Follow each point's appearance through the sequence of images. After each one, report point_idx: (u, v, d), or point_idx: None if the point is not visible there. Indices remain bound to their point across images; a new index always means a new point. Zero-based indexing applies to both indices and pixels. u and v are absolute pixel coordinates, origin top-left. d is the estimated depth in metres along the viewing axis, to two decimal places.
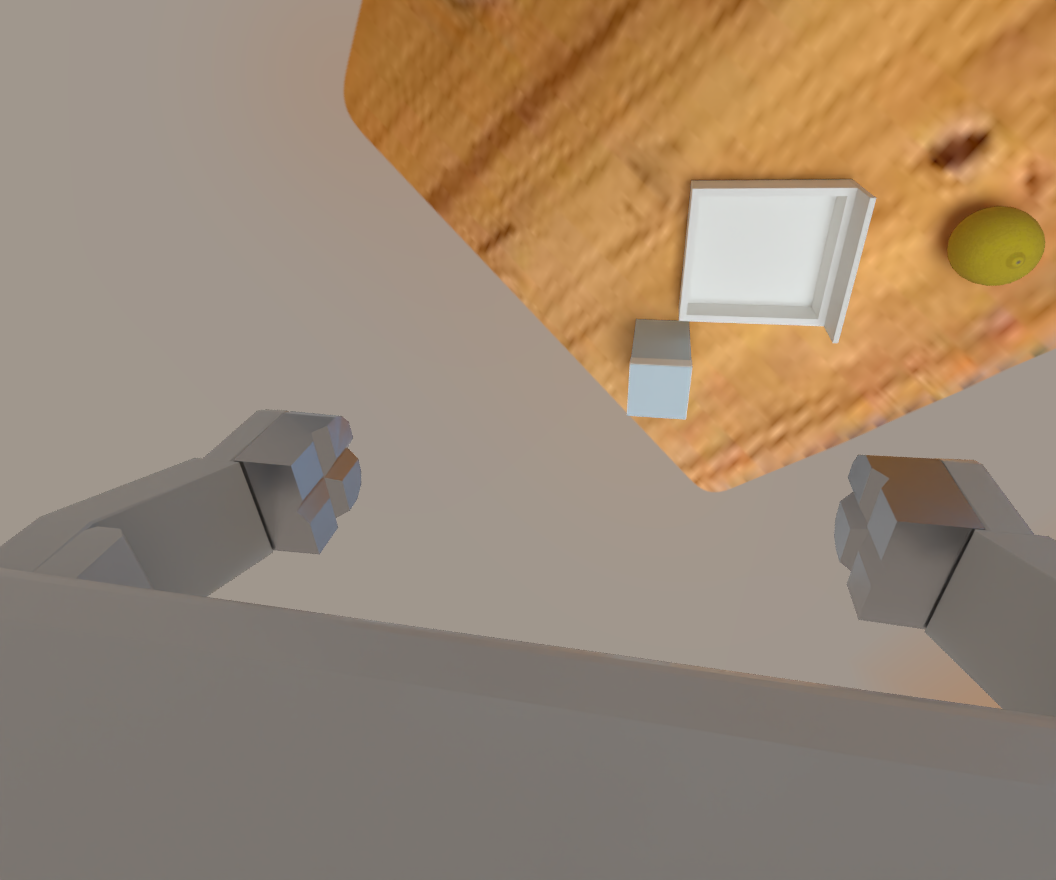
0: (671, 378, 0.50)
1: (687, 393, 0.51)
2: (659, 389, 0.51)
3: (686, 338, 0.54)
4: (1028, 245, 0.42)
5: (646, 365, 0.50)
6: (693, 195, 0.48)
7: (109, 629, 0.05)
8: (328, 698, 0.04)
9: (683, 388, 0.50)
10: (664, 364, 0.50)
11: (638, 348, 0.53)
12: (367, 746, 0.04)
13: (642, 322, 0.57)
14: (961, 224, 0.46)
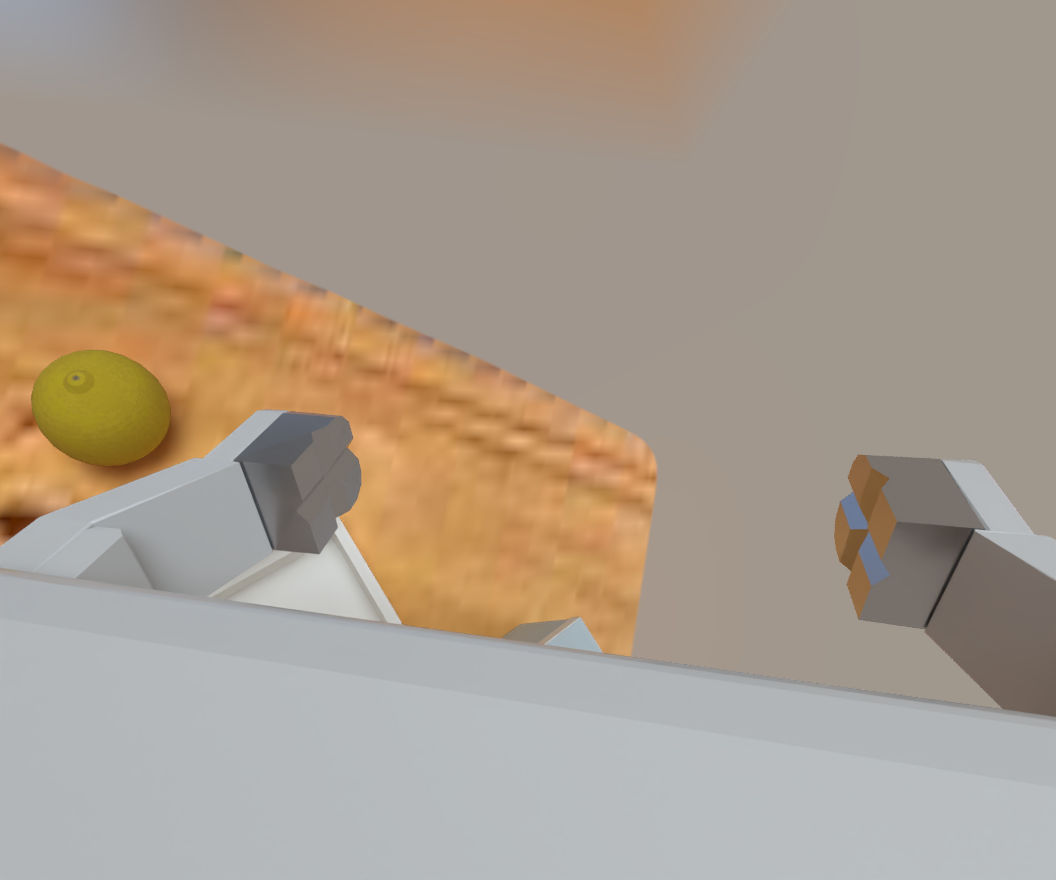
0: None
1: None
2: None
3: None
4: (51, 383, 0.27)
5: None
6: None
7: (108, 630, 0.05)
8: (328, 698, 0.04)
9: None
10: None
11: None
12: (367, 746, 0.04)
13: None
14: (103, 465, 0.30)
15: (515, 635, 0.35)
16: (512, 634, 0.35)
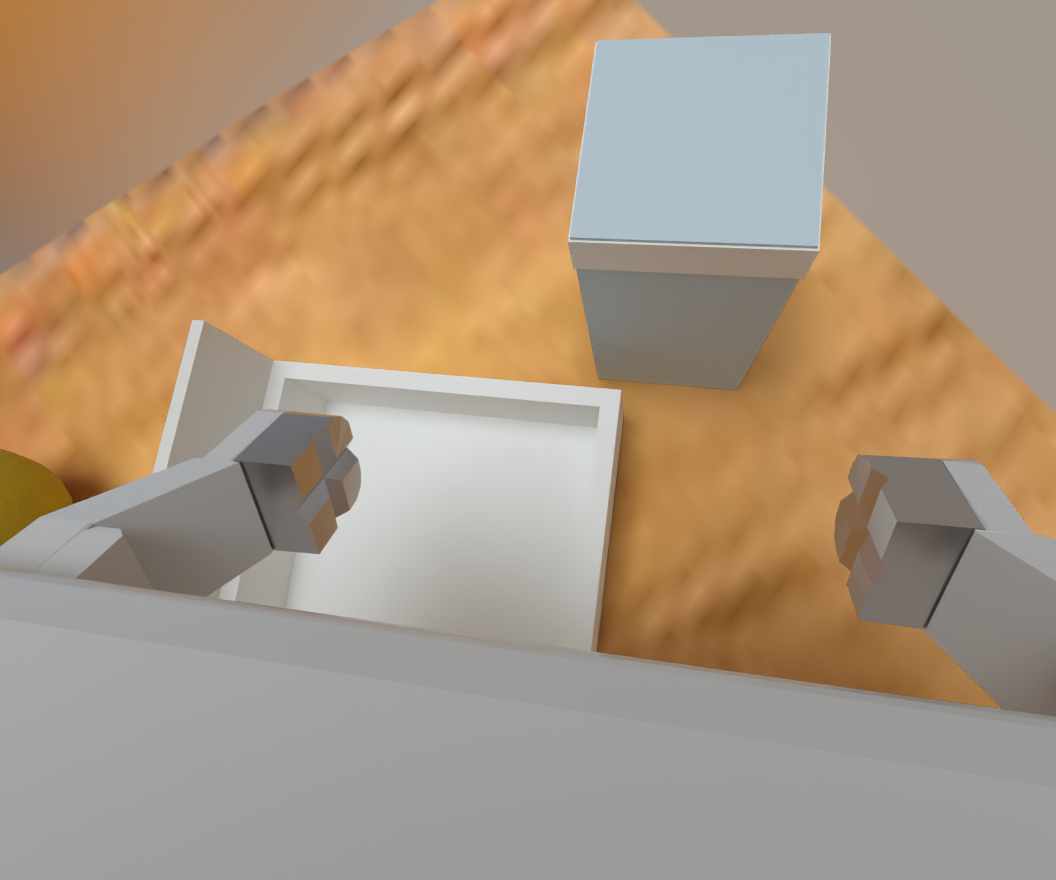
0: (647, 193, 0.13)
1: (587, 138, 0.13)
2: (695, 147, 0.13)
3: (600, 338, 0.18)
4: None
5: (746, 242, 0.12)
6: None
7: (108, 630, 0.05)
8: (328, 698, 0.04)
9: (602, 156, 0.13)
10: (673, 247, 0.13)
11: (760, 310, 0.15)
12: (367, 746, 0.04)
13: (720, 381, 0.21)
14: None
15: None
16: None
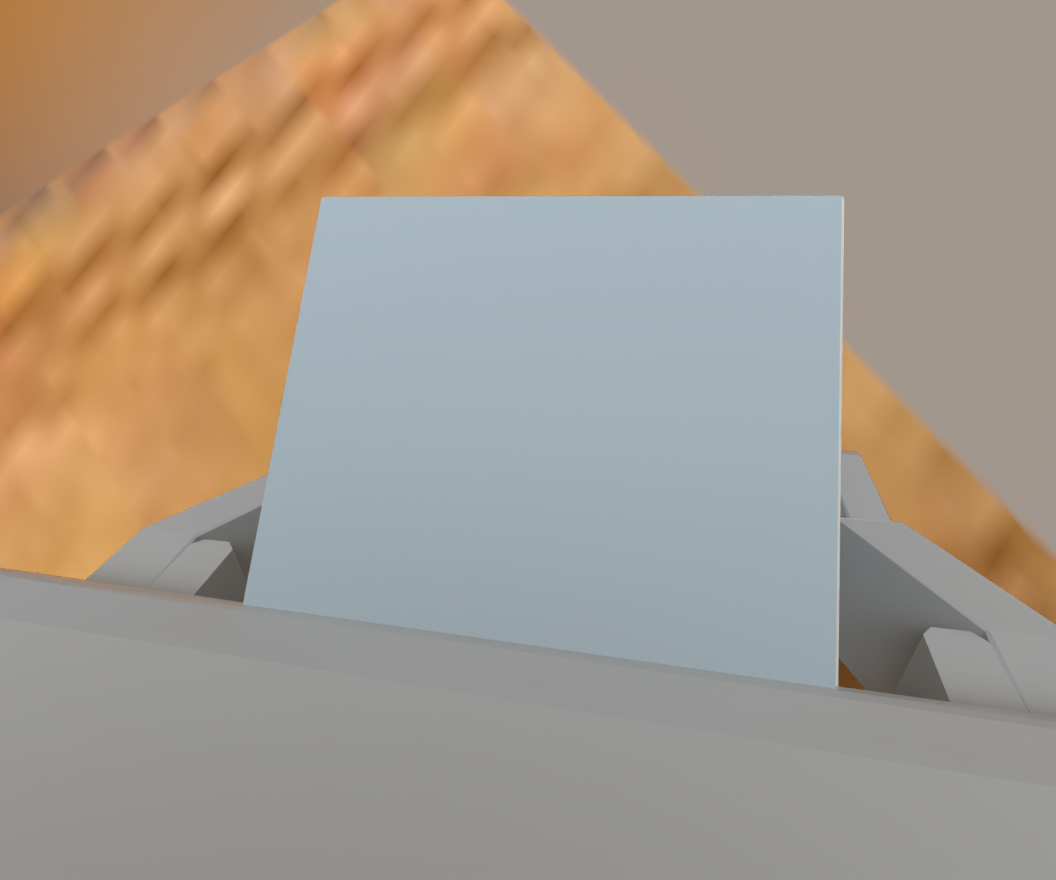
0: (405, 601, 0.05)
1: (284, 438, 0.06)
2: (520, 484, 0.05)
3: None
4: None
5: None
6: None
7: (110, 629, 0.05)
8: (328, 698, 0.04)
9: (311, 490, 0.06)
10: None
11: None
12: (367, 746, 0.04)
13: None
14: None
15: None
16: None
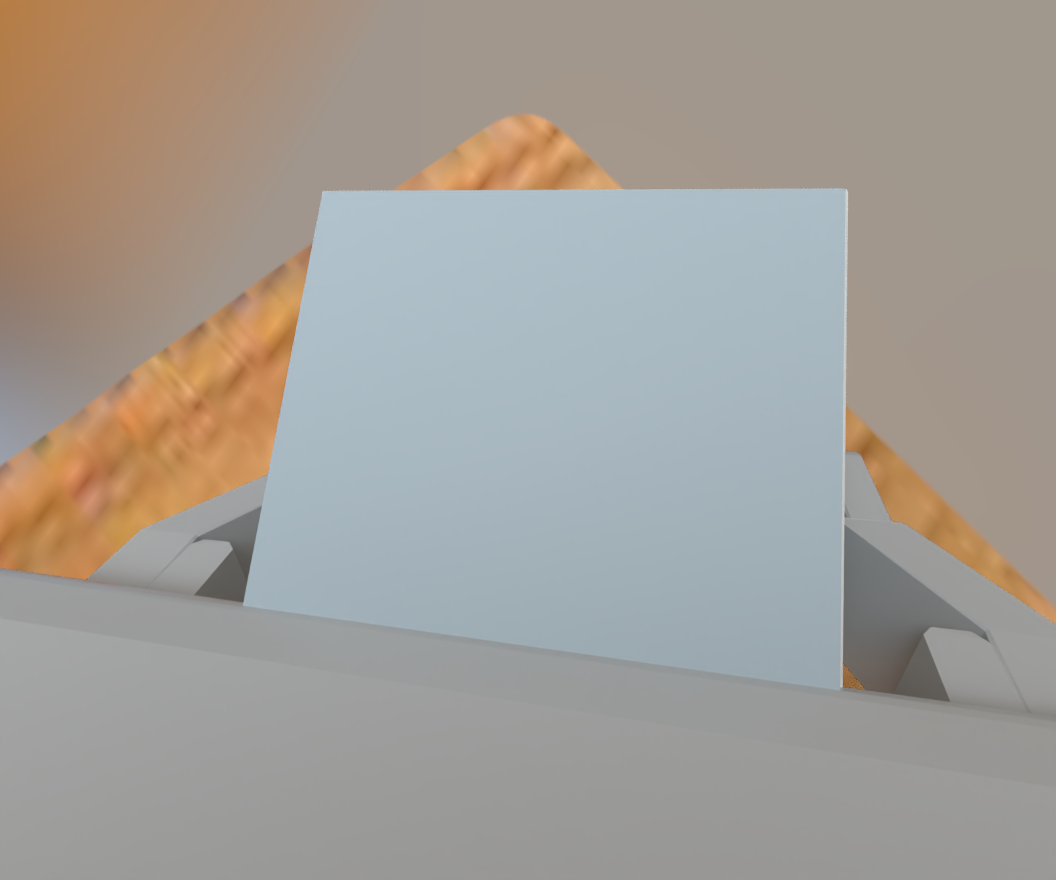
0: (406, 596, 0.05)
1: (285, 433, 0.06)
2: (523, 478, 0.05)
3: None
4: None
5: None
6: None
7: (109, 629, 0.05)
8: (328, 698, 0.04)
9: (312, 484, 0.06)
10: None
11: None
12: (367, 746, 0.04)
13: None
14: None
15: None
16: None
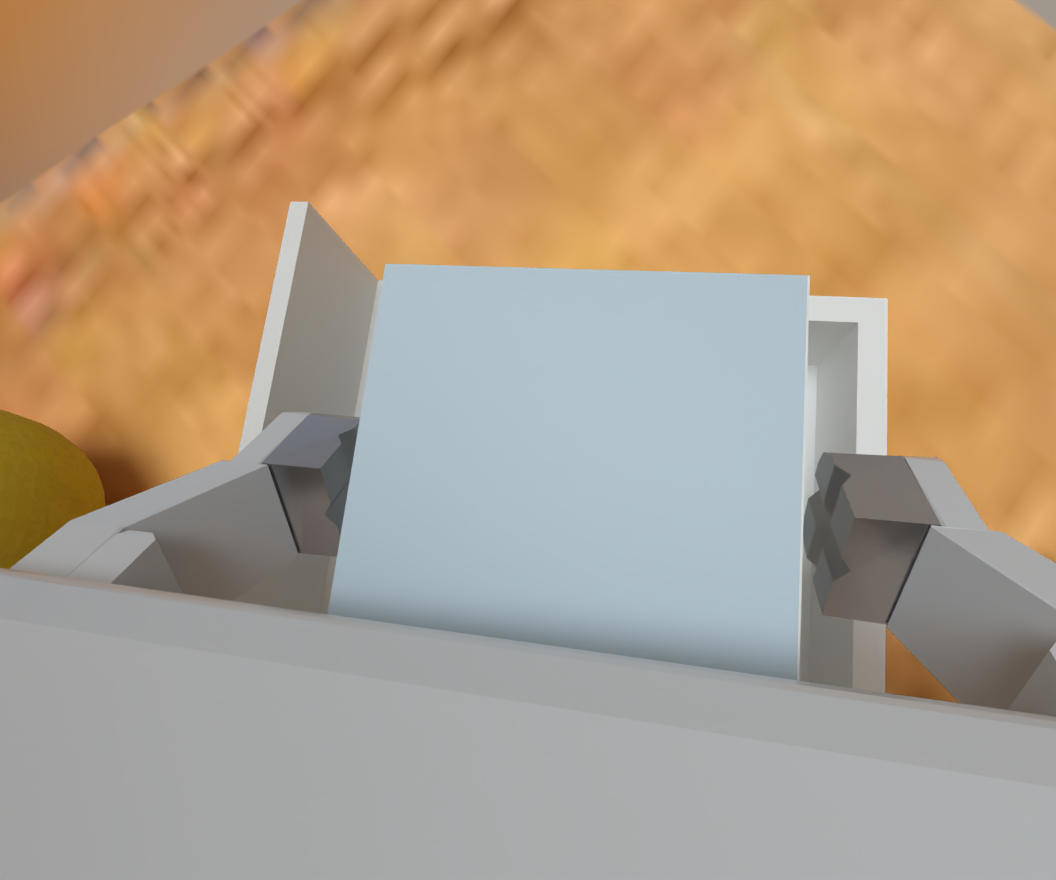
0: (462, 595, 0.07)
1: (360, 464, 0.07)
2: (553, 503, 0.07)
3: None
4: None
5: None
6: None
7: (110, 629, 0.05)
8: (328, 698, 0.04)
9: (383, 506, 0.07)
10: None
11: None
12: (367, 746, 0.04)
13: None
14: None
15: None
16: None
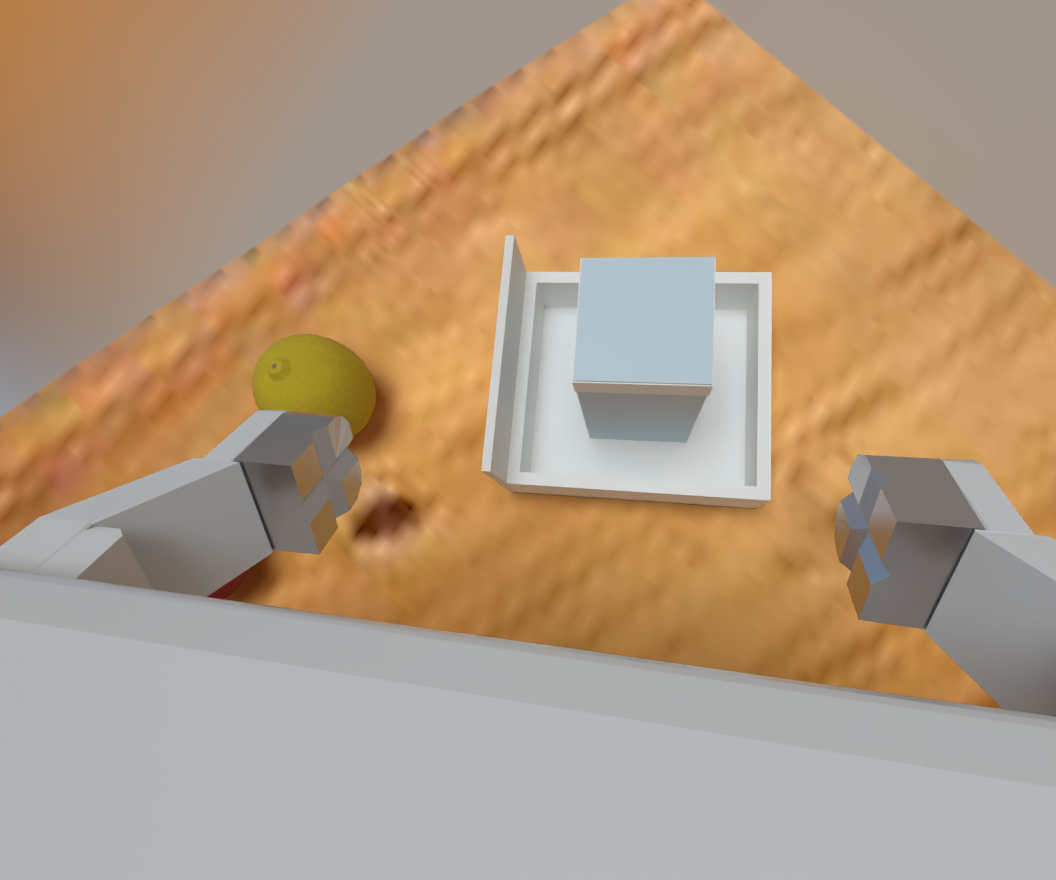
0: (616, 353, 0.22)
1: (579, 319, 0.23)
2: (641, 325, 0.22)
3: (591, 419, 0.28)
4: (268, 390, 0.28)
5: (673, 381, 0.22)
6: (767, 489, 0.27)
7: (110, 629, 0.05)
8: (328, 698, 0.04)
9: (588, 330, 0.23)
10: (633, 384, 0.22)
11: (689, 407, 0.25)
12: (367, 746, 0.04)
13: (674, 438, 0.30)
14: (362, 423, 0.31)
15: None
16: None
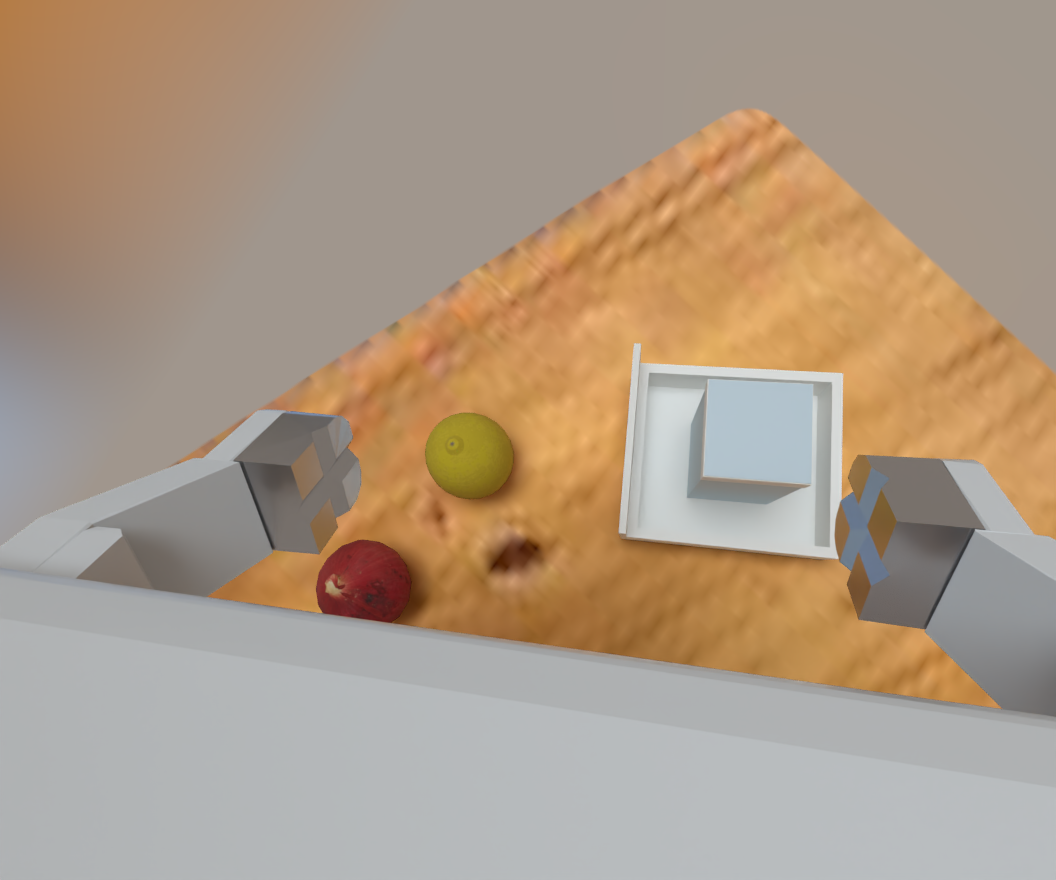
0: (737, 455, 0.30)
1: (708, 427, 0.30)
2: (756, 435, 0.30)
3: (698, 490, 0.35)
4: (445, 461, 0.36)
5: (781, 479, 0.29)
6: None
7: (110, 629, 0.05)
8: (328, 698, 0.04)
9: (715, 437, 0.30)
10: (749, 480, 0.30)
11: (784, 490, 0.32)
12: (367, 746, 0.04)
13: (758, 502, 0.38)
14: (505, 481, 0.39)
15: (693, 434, 0.38)
16: (692, 435, 0.39)
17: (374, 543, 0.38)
